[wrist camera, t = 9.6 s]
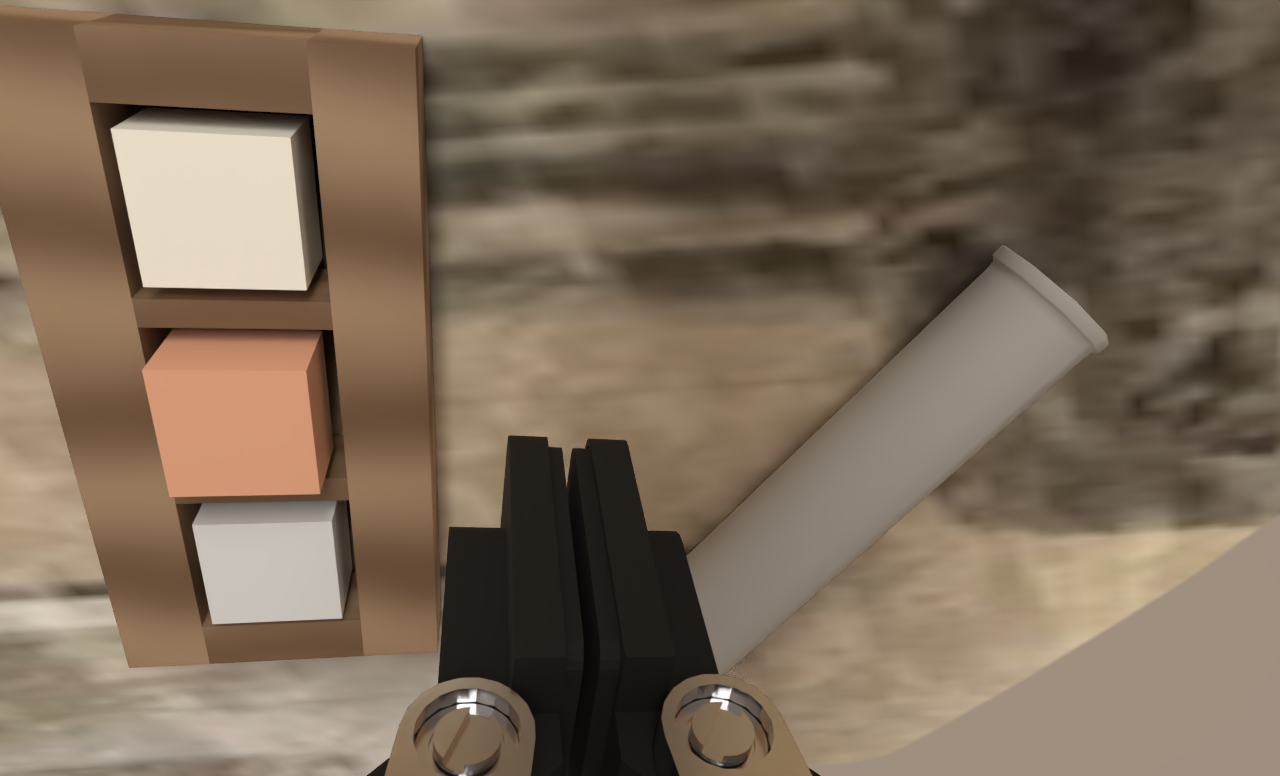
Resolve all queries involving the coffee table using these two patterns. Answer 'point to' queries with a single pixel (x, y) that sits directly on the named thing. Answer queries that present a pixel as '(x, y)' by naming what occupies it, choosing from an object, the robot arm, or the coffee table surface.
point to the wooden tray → (230, 308)
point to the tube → (888, 449)
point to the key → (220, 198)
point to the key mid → (241, 411)
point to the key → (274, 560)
